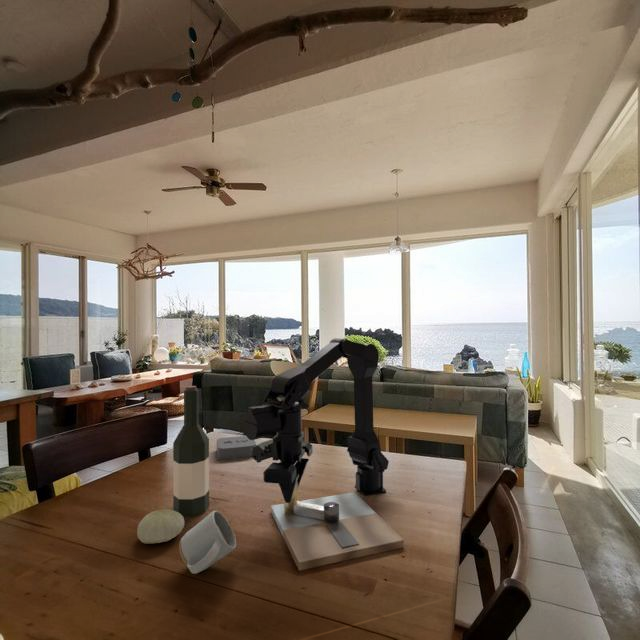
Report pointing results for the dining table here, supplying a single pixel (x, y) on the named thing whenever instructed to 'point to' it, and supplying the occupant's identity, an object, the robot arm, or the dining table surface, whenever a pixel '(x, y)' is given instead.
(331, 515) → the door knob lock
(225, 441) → the streaming box
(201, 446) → the wine bottle
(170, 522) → the sea urchin shell
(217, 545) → the ceramic mug
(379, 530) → the door board
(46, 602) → the dining table surface
